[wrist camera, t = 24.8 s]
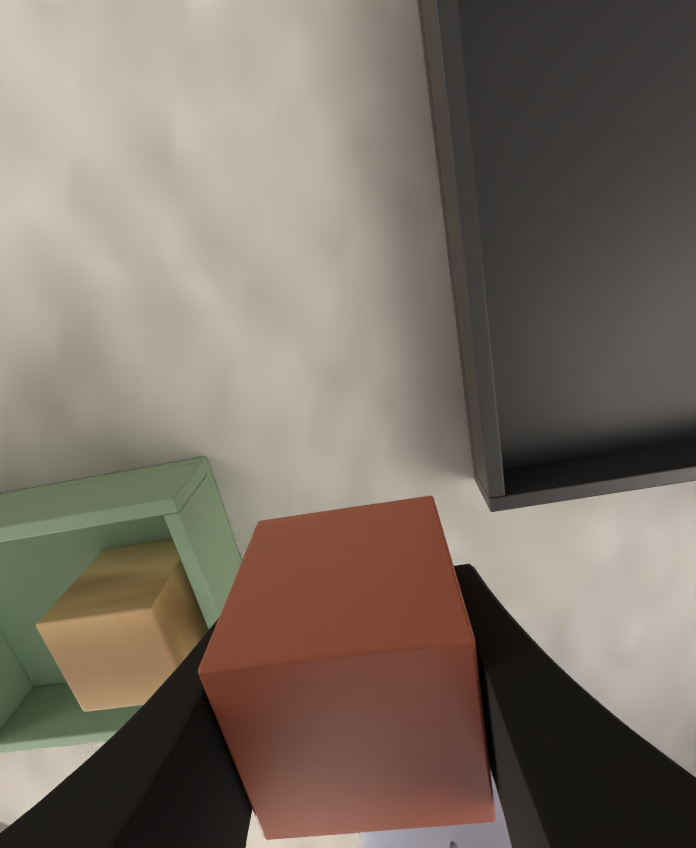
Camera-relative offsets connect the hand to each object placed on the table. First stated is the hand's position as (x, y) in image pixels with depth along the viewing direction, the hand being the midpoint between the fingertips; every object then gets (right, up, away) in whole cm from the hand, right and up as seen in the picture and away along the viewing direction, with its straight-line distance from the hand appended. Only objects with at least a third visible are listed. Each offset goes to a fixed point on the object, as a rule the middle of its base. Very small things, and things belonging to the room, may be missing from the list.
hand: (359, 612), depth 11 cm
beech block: (-9, -3, +10) cm, 13 cm away
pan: (+10, +11, +4) cm, 16 cm away
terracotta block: (0, 0, +1) cm, 1 cm away
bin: (-12, -3, +10) cm, 16 cm away
